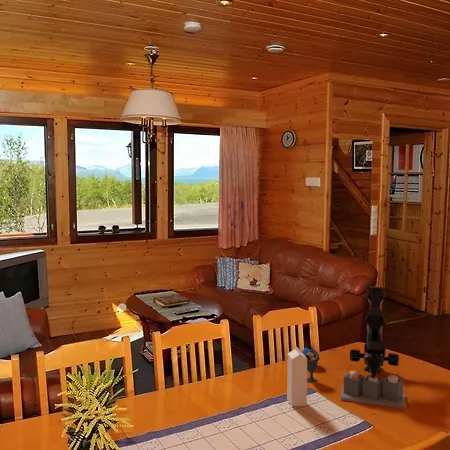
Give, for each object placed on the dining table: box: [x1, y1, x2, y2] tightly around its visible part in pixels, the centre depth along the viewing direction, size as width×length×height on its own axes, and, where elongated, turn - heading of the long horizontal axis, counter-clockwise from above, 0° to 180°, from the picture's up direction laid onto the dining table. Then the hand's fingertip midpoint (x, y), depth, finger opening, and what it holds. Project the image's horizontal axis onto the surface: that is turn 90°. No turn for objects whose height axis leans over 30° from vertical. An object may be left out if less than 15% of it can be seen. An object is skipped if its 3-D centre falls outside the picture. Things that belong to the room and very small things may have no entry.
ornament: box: [301, 343, 320, 358], centre depth 222 cm, size 9×9×10 cm
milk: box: [286, 345, 308, 407], centre depth 185 cm, size 6×6×22 cm
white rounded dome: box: [387, 374, 399, 384], centre depth 187 cm, size 4×4×4 cm
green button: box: [368, 376, 378, 382], centre depth 189 cm, size 4×4×4 cm
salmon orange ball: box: [349, 370, 360, 379], centre depth 191 cm, size 4×4×4 cm
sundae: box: [305, 345, 320, 384], centre depth 206 cm, size 7×7×15 cm
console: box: [340, 372, 407, 409], centre depth 189 cm, size 11×24×8 cm, turn 72°
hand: (373, 377), depth 188 cm, fingers closed, pressing on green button
